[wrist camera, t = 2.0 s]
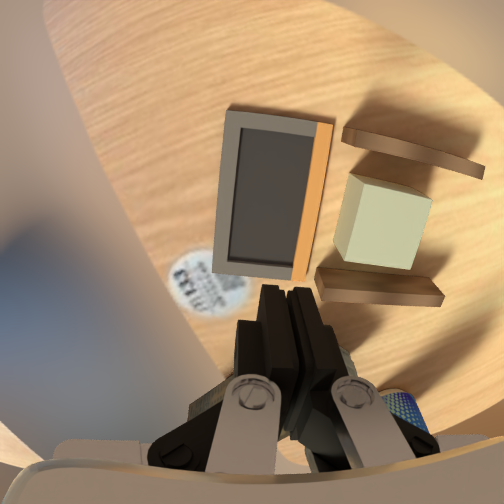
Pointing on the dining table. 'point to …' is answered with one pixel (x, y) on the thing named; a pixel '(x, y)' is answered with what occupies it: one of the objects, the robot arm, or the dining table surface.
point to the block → (380, 222)
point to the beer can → (403, 407)
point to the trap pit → (269, 194)
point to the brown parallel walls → (378, 284)
